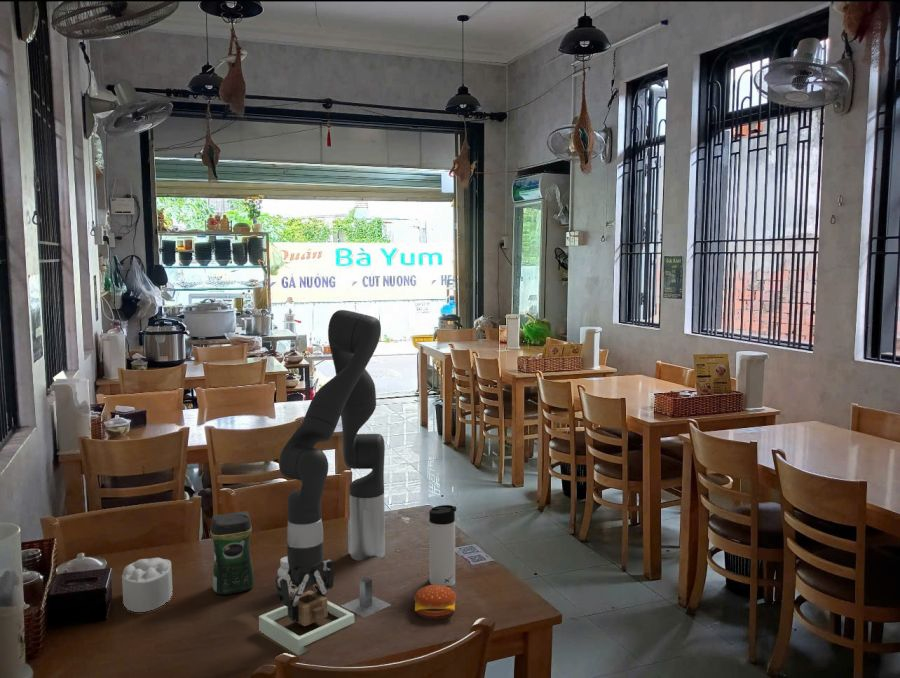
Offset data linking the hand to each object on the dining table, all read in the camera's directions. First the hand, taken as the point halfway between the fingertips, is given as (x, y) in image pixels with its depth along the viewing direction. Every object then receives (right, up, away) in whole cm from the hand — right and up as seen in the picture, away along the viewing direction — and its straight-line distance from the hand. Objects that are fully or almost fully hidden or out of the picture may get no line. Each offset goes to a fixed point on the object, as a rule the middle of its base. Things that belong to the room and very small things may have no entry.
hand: (307, 615), depth 154 cm
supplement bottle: (-7, -2, +15) cm, 17 cm away
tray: (0, -3, 0) cm, 3 cm away
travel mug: (+29, -1, +21) cm, 36 cm away
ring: (0, 0, 0) cm, 0 cm away
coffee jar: (-22, -2, +21) cm, 30 cm away
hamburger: (+27, -3, +6) cm, 28 cm away
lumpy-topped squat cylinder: (-40, -2, +15) cm, 43 cm away
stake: (+12, -2, +9) cm, 15 cm away
